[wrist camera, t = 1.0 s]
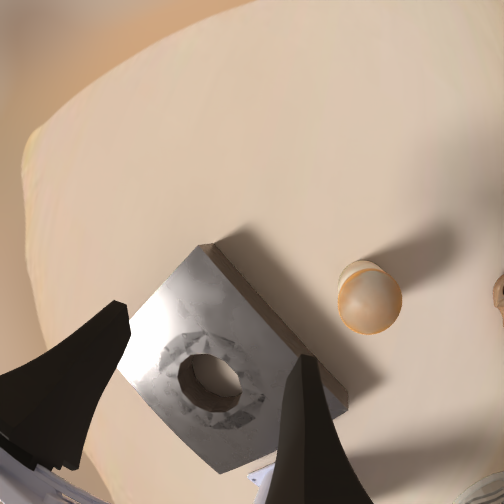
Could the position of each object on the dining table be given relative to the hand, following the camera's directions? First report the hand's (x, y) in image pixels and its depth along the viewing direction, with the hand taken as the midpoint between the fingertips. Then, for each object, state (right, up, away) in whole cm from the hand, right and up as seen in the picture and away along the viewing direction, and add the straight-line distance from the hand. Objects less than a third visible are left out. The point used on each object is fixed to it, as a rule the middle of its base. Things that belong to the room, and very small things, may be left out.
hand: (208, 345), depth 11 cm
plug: (+11, +1, +11) cm, 16 cm away
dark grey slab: (-1, -8, +15) cm, 17 cm away
